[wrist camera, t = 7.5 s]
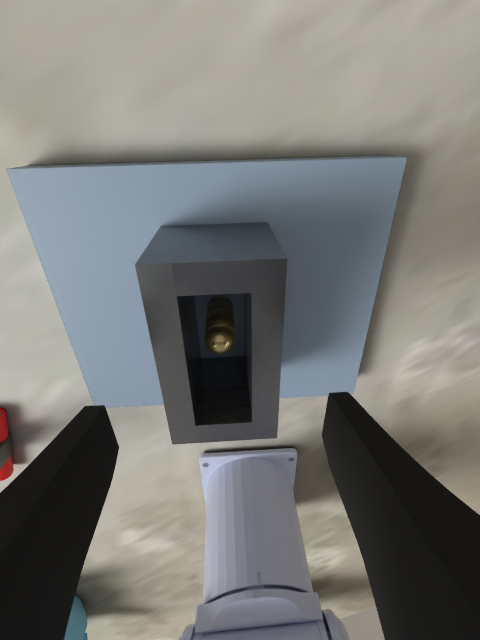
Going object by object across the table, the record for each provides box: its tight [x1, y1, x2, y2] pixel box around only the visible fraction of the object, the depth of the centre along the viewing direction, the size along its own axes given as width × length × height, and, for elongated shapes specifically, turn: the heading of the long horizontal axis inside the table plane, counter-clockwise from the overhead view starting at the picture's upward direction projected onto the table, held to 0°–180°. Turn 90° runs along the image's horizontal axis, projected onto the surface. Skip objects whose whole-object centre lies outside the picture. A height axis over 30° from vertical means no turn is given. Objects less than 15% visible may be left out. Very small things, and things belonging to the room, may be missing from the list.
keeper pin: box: [205, 296, 235, 355], centre depth 15 cm, size 1×1×4 cm
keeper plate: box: [6, 155, 407, 408], centre depth 17 cm, size 14×17×2 cm
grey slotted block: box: [135, 222, 287, 444], centre depth 15 cm, size 9×5×5 cm, turn 1°
